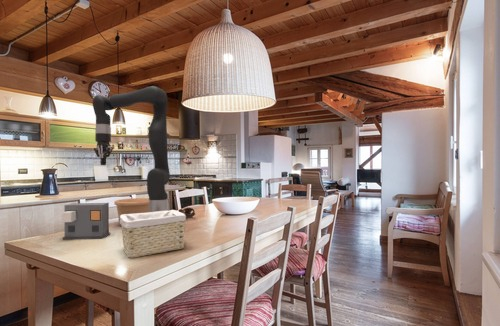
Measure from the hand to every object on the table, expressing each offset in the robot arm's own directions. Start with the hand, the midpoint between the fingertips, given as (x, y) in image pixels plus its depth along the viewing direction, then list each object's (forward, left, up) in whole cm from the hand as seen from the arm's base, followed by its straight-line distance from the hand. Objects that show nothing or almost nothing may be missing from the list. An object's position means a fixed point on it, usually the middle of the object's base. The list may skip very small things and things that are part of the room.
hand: (103, 165), depth 154 cm
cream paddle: (-5, +21, -26) cm, 34 cm away
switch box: (-7, +14, -35) cm, 38 cm away
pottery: (-5, -17, -35) cm, 39 cm away
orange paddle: (-12, +12, -26) cm, 31 cm away
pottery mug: (-21, -45, -35) cm, 61 cm away
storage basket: (-51, +15, -35) cm, 64 cm away
